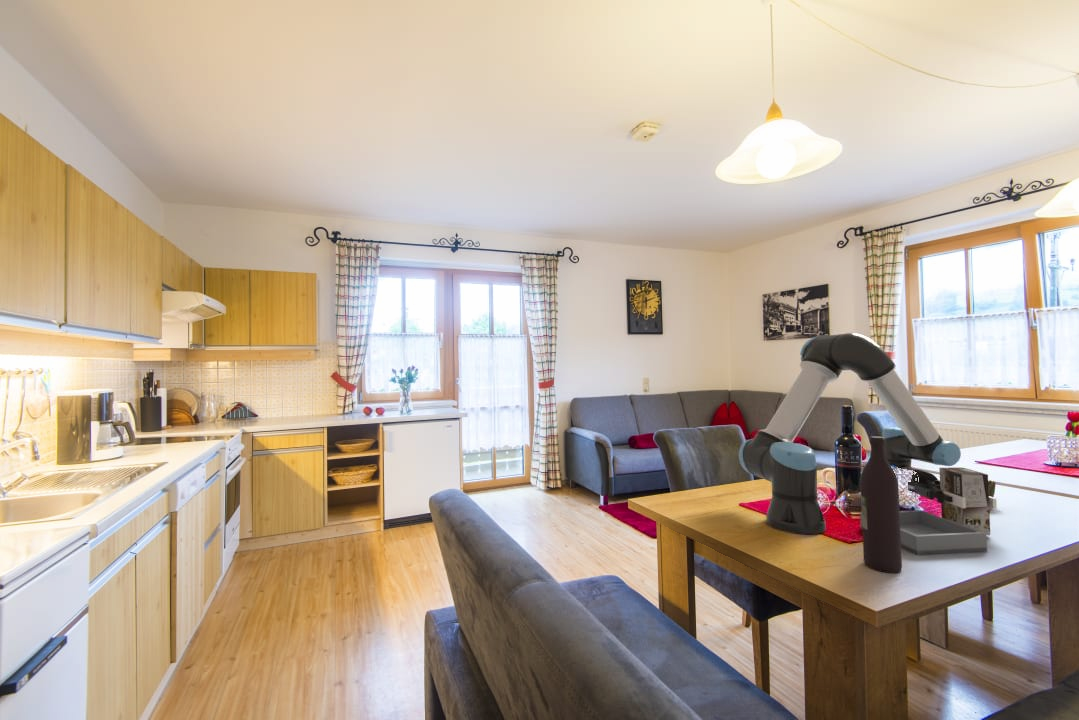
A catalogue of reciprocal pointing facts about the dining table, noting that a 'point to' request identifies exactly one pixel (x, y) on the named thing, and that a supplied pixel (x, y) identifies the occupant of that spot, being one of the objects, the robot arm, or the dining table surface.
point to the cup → (991, 488)
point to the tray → (937, 535)
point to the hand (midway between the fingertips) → (979, 503)
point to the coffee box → (966, 497)
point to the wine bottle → (880, 512)
